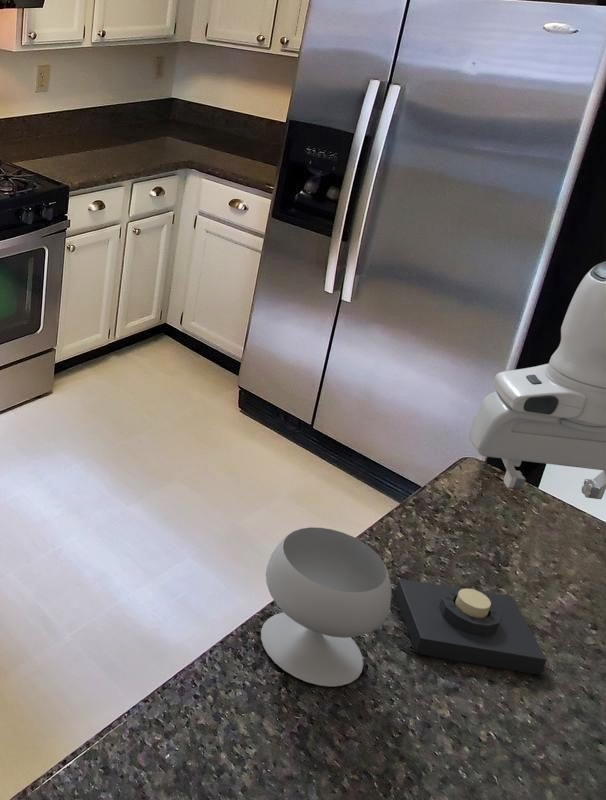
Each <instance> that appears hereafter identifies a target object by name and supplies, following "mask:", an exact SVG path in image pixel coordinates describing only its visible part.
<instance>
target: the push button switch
mask: <svg viewBox="0 0 606 800" xmlns="http://www.w3.org/2000/svg"><path fill="white" fill-rule="evenodd" d="M479 591H480V590H476V589H473V588H467V587H466V588H462V589H461V590H460V591H459V593H458V596H457V599H456V601H455V605H456V607H457V608H458V609H459V610H461V611H462V612H463V613H465V614H467V615H469V616H472V617H476V618H485V617H486V616H487V615H488V612H489V609H490V606H491V602H490V600H489V598H488V597H487V596H485V595H484V594H483V593H481V592H482V591H481V592H479Z"/></svg>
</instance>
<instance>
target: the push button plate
mask: <svg viewBox="0 0 606 800" xmlns="http://www.w3.org/2000/svg"><path fill="white" fill-rule="evenodd" d="M461 589H463V588H462V587H455V586H449V585H443V584H436V583H430V582H423V581H417V580H410V579H403V578H398V580H397V583H396V586H395V589H394V595H395V599H396V601H397V605H398V607H399V610H400V613H401V616H402V618H403V621H404V624H405V627H406V630H407V632H408V635H409V638H410V641H411V643H412V645H413V649H414V651H415V654H417V655H421V656H428V657H434V658H439V659H444V660H451V661H456V662H461V663H468V664H474V665H479V666H485V667H490V668H495V669H496V668H497V669H502V670H507V671H514V672H519V673H525V674H532V675H536V676H541V674H542V672H543V670H544V667H545V665H546V662H547V657H546V656H545V653H544V652H543V650H542V648H541V647H540V645H539V643H538V641H537V639H536V637H535V636H534V633H533V632H532V629H531V628H530V626H529V625H528V622H527V621H526V619H525V617H524V615H523V613H522V612H521V610H520V608H519V606H518V604H517V602H516V600H515V599H514V597H513V596H512V595H506V594H501V593H500V594H499V593H494V592H487V591H482V590H478V591H479V592H481V593H483V594H484V595H485V596H487V597H488V598H489V600H490V602H491V606H490V609H489V612H488V615H487V616H486V617H485V618H476V617H472V616H469V615H467V614H465V613H463V612H462V611H461V610H459V609H458V608H457V607H456V605H455V601H456V599H457V596H458V593H459V591H460V590H461Z"/></svg>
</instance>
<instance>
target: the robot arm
mask: <svg viewBox="0 0 606 800" xmlns="http://www.w3.org/2000/svg"><path fill="white" fill-rule="evenodd" d="M493 385H494V388H495V391H492V392H491V393H489V394H487V395H486V396H485V397H484V399H482V401H481V403H480V405H479V407H478V409H477V411H476V414H475V415H474V418H473V419H472V423H471V425H470V428H469V433H468V437H469V440H470V443H471V444H472V446H473V447H474V449H475V450H476V451H477V453H478V454H479V455H480V456H482V457H487V458H496V459H501V461H502V463H503V465H504V467H505V470H506V471H505V475H504V477H503V483H504V485H505V487H506V488H508V489H512V490H513V489H515V490H522V489H524V488H523V487H524V486H523V485H524V484H525V482H526V477H525V476H524V475H523V473H522V472H521V470H516V468H515V467H521V464H522V462H528V463H529V462H530V463H536V464H537V463H538V464H546V465H547V464H548V465H555V466H563V467H571V468H579V469H588V470H595V471H597V470H598V471H601V472H600V473H599V474H598V475H596V476H595V477H594V478H593V479H591V478H590V479H589V478H585V479H584V481H583V485H582V486H581V493H582V494H583V495H584V497H585V498H587V499H594V500H602V499H603V497H604V495H605V492H606V260H605V261H602V262H600V263H597V264H596V265H594V266H593V267H592V268H591V269H590V270H589V271H588V272H587V273H586V274H585V275H584V276H583V278H582V280H581V281H580V283H579V284H578V286H577V288H576V290H575V292H574V294H573V296H572V298H571V301H570V303H569V305H568V307H567V310H566V313H565V316H564V318H563V321H562V324H561V327H560V342H559V345H558V346H557V348H556V350H554V352H553V353H552V355H551V356H550V359H549V361H548V363H544V364H540V365H536V366H531V367H525V368H519V369H512V370H511V369H510V370H505V371H500V372H498V373H497V374H496V375H495V376H494V379H493Z"/></svg>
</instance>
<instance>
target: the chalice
mask: <svg viewBox="0 0 606 800" xmlns="http://www.w3.org/2000/svg"><path fill="white" fill-rule="evenodd" d="M265 583H266V587H267V589H268V592H269V594H270V597H271V598H272V600H273V601H274V603H275V604H276V605H277V607H278V608H279V609H280V610H281V611H282V612H280V613H276V614H274V615H272V616H270V617H269V618H268V619H267V620H265V621H264V622H263V624H262V627H261V629H260V639H261V643H262V646H263V648H264V650H265V652H266V654H267V655H268V656H269V657H270V658H271V660H272V661H273V662H274V663H275V664H276V665H277V666H278V667H279V668H281V669H282V670H283V671H284V672H286V673H288V674H290V676H293V677H294V678H297V679H299V680H302V681H303V682H306V683H309V684H313V685H316V686H321V687H323V686H324V687H341V686H345V685H348V684H351V683H352V682H354V681H356V680H357V679H358V678H359V677H360V675H361V674H362V672H363V668H364V657H363V654H362V652H361V649H360V647H359V646H358V645H357V643H356V642H355V640H354V639H353V638H357V637H361V636H364V635H367V634H370V633H372V632H374V631H375V630H377V629H378V628H379V627H380V626H381V625H382V624H384V623H385V621H386V620H387V618H388V615H389V613H390V611H391V603H392V583H391V578H390V575H389V571H388V569H387V566H386V563H384V560H383V559H382V558H381V556H380V555H379V554H378V553H377V552H376V551H375V550H374V549H373V548H372V547H370V546H369V545H368V544H367V543H365V542H364V541H362V540H360V539H358V538H357V537H355V536H352V535H350V534H348V533H345V532H343V531H339V530H335V529H332V528H325V527H313V526H312V527H311V526H310V527H302V528H299V529H297V530H294V531H291V532H290V533H289V534H287V535H286V536H284V537H283V538H282V539H281V540H280V541H279V543H278V544H277V545H276V547H275V548H274V549H273V551H272V553H271V555H270V557H269V559H268V562H267V565H266V569H265Z"/></svg>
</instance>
